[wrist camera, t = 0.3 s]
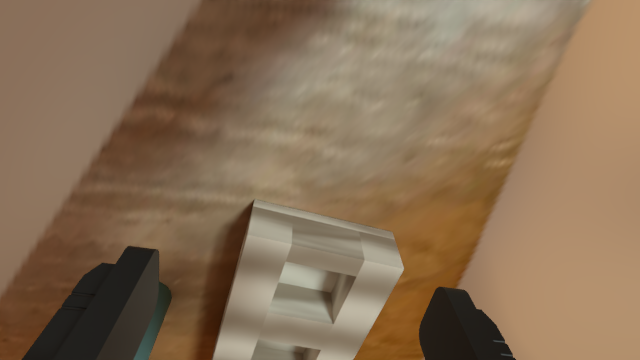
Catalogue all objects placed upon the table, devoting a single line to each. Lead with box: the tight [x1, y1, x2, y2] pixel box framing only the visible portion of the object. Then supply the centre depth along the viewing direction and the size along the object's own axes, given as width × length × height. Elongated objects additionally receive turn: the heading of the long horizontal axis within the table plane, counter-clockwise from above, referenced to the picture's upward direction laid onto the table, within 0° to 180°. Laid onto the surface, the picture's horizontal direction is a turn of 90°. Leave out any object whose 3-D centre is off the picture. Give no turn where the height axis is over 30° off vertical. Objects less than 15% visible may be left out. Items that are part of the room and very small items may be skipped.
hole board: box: [212, 200, 404, 360], centre depth 34 cm, size 18×12×4 cm, turn 162°
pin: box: [134, 282, 172, 360], centre depth 30 cm, size 4×4×12 cm
